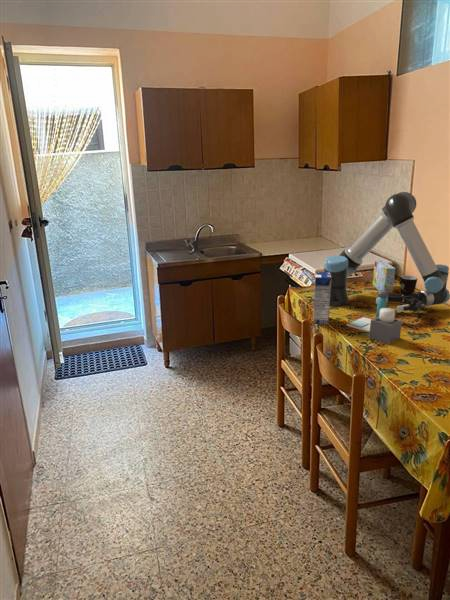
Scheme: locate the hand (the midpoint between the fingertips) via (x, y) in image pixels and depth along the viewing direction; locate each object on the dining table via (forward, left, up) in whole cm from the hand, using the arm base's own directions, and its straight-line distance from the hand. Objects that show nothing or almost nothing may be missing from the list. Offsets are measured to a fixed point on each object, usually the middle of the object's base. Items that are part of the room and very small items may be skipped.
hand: (386, 304), depth 208 cm
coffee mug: (-11, +44, -7) cm, 46 cm away
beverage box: (-19, -24, -7) cm, 31 cm away
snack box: (-25, +43, -7) cm, 51 cm away
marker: (-1, -2, -7) cm, 7 cm away
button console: (+12, -22, -7) cm, 26 cm away
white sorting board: (0, -14, -7) cm, 15 cm away
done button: (+12, -22, +1) cm, 25 cm away
